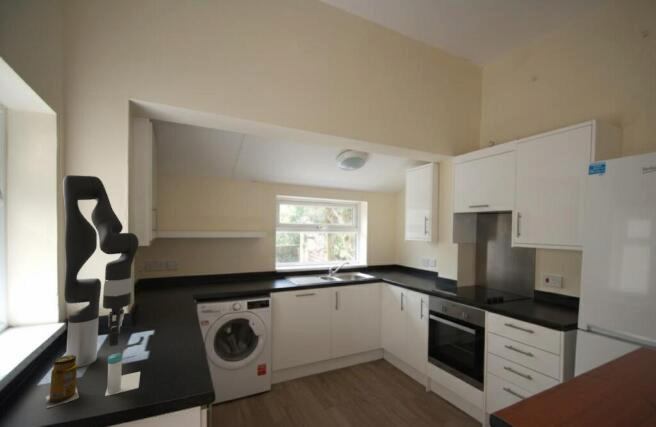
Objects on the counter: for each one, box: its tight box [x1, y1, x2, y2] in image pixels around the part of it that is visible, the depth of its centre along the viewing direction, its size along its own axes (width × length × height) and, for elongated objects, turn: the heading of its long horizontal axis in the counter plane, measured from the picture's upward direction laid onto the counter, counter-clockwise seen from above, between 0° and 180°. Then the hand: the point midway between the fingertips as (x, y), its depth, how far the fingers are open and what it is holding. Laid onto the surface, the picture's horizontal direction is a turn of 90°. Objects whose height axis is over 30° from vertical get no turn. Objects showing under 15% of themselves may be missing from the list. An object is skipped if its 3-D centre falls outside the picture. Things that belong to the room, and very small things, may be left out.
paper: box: [104, 371, 141, 397], centre depth 96 cm, size 12×9×1 cm
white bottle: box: [106, 352, 123, 395], centre depth 92 cm, size 4×4×12 cm
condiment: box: [45, 355, 80, 409], centre depth 88 cm, size 7×8×12 cm
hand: (115, 340), depth 93 cm, fingers open, 8 cm apart
